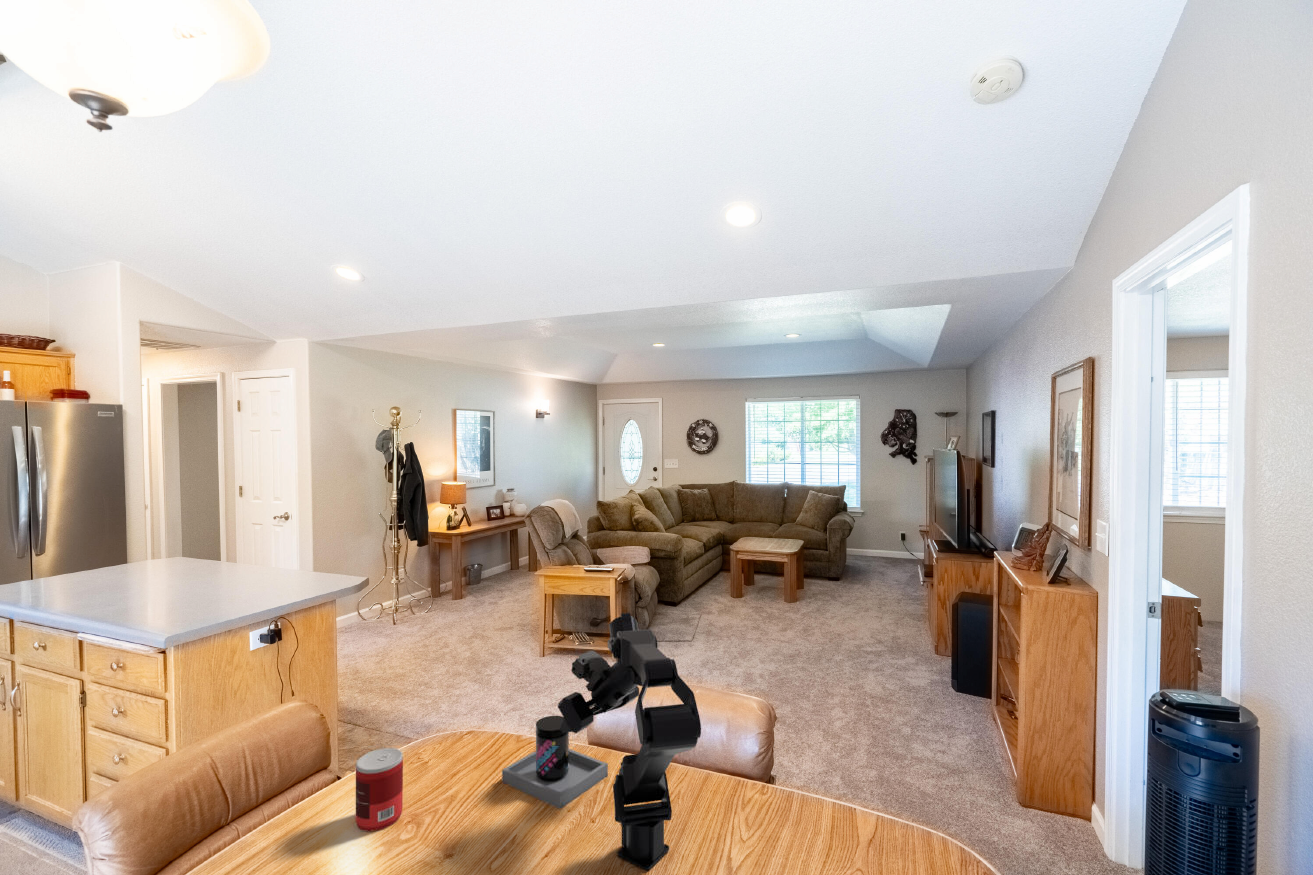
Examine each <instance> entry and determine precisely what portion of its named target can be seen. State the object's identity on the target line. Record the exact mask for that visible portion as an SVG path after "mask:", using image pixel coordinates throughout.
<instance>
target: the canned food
mask: <svg viewBox="0 0 1313 875" xmlns="http://www.w3.org/2000/svg"><path fill="white" fill-rule="evenodd" d="M403 776H404V755H403V752H402V750H400V749H398V748H394V747H387V748H386V747H385V748H379V749H375V750H372V751H369V752H367V753H365V754H363V755H362V756H360V758H358V759H357V761H356V764H355V824H356V826H357V828H358V829H359V830H362V831H363V830H364V832H376V831H380V830H383V829H386V828H388V827H391V826H392V825H394V824H395V823H396V822H397V821H399V819H400V817H401V814H402V812H403V804H404V803H403V802H404V801H403V798H404V797H403V796H404V795H403V793H404V791H403V788H404V784H403V781H404V780H403V779H404V777H403Z"/></svg>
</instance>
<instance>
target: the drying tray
mask: <svg viewBox="0 0 1313 875" xmlns="http://www.w3.org/2000/svg"><path fill="white" fill-rule="evenodd" d="M608 765H609V764H608V763H607V762H604V761H601V760H599V759H597V758H593V757H591V756H588V755H586V754H583V753H581V752H578V751H576V750H573V749H571V748H569V771H568V773H567V775H566V776H565V777H564V778H562V779H560V780H558V781H552V782H548V781H543V780H541V779H539V778H538V777H537V775H536V750H535V751H533V752H531V753H529V754H528V755H526V756H524V757H522V758H520V759H519V760H517V761H515V762H513V763H512V764H510V765H508V766H507V767H505V768H503V769H502V772H501V773H502V774H501V775H502V776H501V782H502V783H503V784H505V785H508V786H510V787H513V788H514V789H516V790H518V791H520V790H521V792H523V793H524V794H527V795H529V796H531V797H534V798H536V799H537V800H539V801H542V802H544V803H546V804H548V805H550V806H552V807H554V808H557V809H559V810H561V809H563V808H564V807H566V806H567V805H568V804H570V803H571V802H572V801H574V800H576V799H577V798H579V797H580V796H581V795H582V794H584V793H586V792H587V791H588V790H589V789H591V788H593V787H594V786H595V785H597V784H599V782H601V781H603V780H604V779H606V778H607V777H609V776H608V774H609V773H608V772H609V771H608V770H609V768H608V767H609V766H608Z"/></svg>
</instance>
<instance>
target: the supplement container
mask: <svg viewBox="0 0 1313 875" xmlns="http://www.w3.org/2000/svg"><path fill="white" fill-rule="evenodd" d="M563 719H564V717H563V715H550V716H548V715H547V716H543V717H542V718H540V719H538V720H536V723H535V751H536V775H537V777H538V778H539V779H541V780H543V781H548V782H552V781H558V780H560V779H562V778H564V777H565V776H566V775H567V773H568V771H569V749H570V748H569V746H570V742H569V740H570V737H569V736H570V735H569V734H570V732H567V733H562V731H561V730H560V727H561V724H562V721H563Z"/></svg>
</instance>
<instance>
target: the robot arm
mask: <svg viewBox="0 0 1313 875" xmlns="http://www.w3.org/2000/svg"><path fill="white" fill-rule="evenodd" d="M608 624H609V625H608V629H609V634H610V637H609V640H607V648H608V649H609V652H610V653H611V654H612V657H613V659H616V661H615V662H614V663H613V664H612V665H610V664H609V663H608V661H607V660H606V659H605V658H604V657H602V656H601V655H600V654H599V653H597V651H595V650H589V651H586V652H584V653H582V654H580V655H579V656H578V657H577V658H575V660H574V661H573V662H571V666H572V667H571V669H570V670H571V673H572V674H573V675H574V677H576V678H577V679H578V680H582V679H584V680H585V682H586V683H587V684H586V685H585V687H586V689H587V691H588V692H591V693H590V696H591V699H589V700H587V701H586V699H585V697H584V696H583V695H582V693H580V692H577V691H575V692H573V693H570V694H568V695H567V696H564V697H562V699H561V700H560V701H559V702H558V703H557V708H558V710H559V712H560V713H561V716H562V717H564V719H563V721H562V724H561V727H560V730H561V731H562V733H567V732H569V733H571V732H572V733H574V734H577V733H579V732H582V731H583V730H584V729H586V728H588V727H589V726H590V725H591V724H592V723H594V718H595V717H594V716H597V715H600V714H603V713H604V714H606V713H607V712H609V711H613V710H617V709H620V708H623V707H624V706H625V705H628V704H630V703H631V702H633V701H635V700H636V699H637V700H636V701H637V702H636V705H635V710H634V714H635V720H636V721H635V722H636V727H637V732H638V740H639V743H640V745H641V747H640V749H639V751H638V753H635V754H627V755H624V756H623V757H622V759H621V760H622V762H621V761H620V768H619V769H618V774H615V779H614V783H613V784H612V791H613V794H612V795H613V802H614V806H613V807H614V821H615V822H617V823H620V828H621V846H622V847H621V848H620V849H619V850H618V851H617V852H616V853H617V854H616V855H617V857H619V858H621V859H623V860H625V861H627V862H629V863H631V864H633V865H635V866H637V867H639V868H641V869H643V870H645V871H649V870H651V869H652V868H653V867H654V866H655V865H656V864H657V863H658V862H659V861H660V860H661V859H662V858H663V857H664V856H665V855H666V854H667V853H668V852H669V851H670V846H669V845H668V844H665V821H669V822H670V821H672V816H673V815H672V814H673V810H672V805H671V804H672V803H671V797H670V791H669V786H668V784H669V783H668V778H667V773H666V771H667V770H668V767H669V766H670V764H671V762H672V760H673V759H674V758H675V755H678V754H680V753H685V752H688V751H691V750H693V749H694V748H695V747H697V744H698V740H699V739H700V738H701V735H702V724H701V717H700V713H699V710H698V705H697V701H696V697H695V694H694V691H693V690H692V689H691V688H690V687H689V685H688V684H687V683H686V682H685V681H684V680H683V679H682V677H680V675H679V673H678V668H677V664H676V661H675V659H674V658H670V657H667V656H666V655H665V654H664V653H663V652H662V651H661V650H660V649H659V646H658V639H657V636H656V635H655V634H654V633H653V632H654V631H652V630H651V629H650V628H649V629H640V628H639V624H638V620H637V619H636V618H635V617H633V616H632V614H631V612H624V613H623V612H622V613H620V616H618V617H616V618H614V619H613V620H611V622H610V623H608ZM639 687H641V689H640V688H639ZM662 687H670V689H671V691H672V692H673V693H674V694H675V695H676V696H677V698H678V699H679V700H680V701H681V702H682V703H678V704H670V705H669V704H668V705H659V706H657V705H656V706H649V707H643V706H644V705H643V702H644V698H645V696H646V693H647V691H648V688H649V689H651V688H662Z"/></svg>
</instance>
